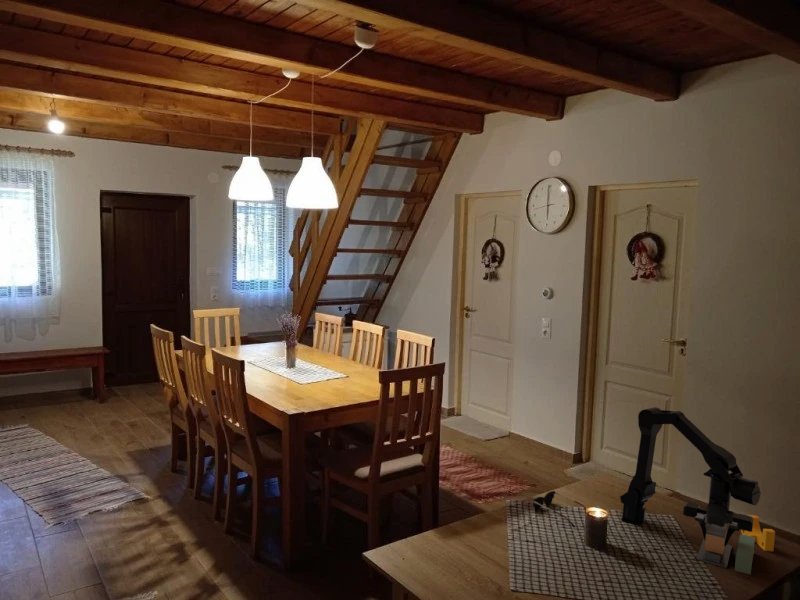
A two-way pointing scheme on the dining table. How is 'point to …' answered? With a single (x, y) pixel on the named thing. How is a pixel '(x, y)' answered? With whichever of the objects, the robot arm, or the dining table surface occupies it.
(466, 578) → the dining table surface
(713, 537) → the tan and grey block
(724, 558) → the side mount
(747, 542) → the green long block
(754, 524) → the pipe clamp
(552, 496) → the sunglasses
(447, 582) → the dining table surface
